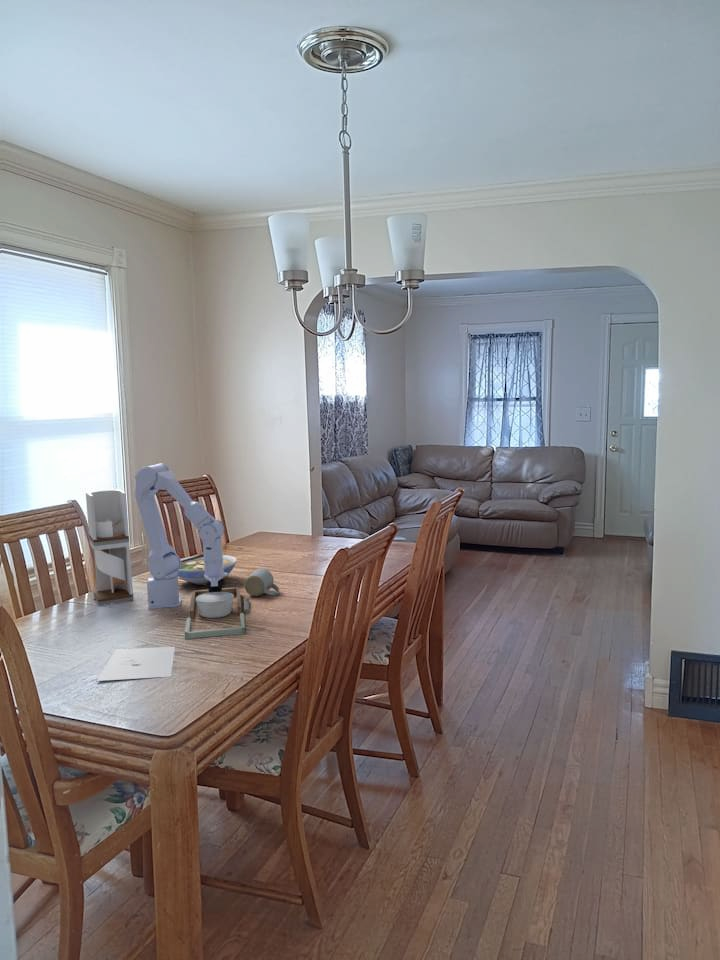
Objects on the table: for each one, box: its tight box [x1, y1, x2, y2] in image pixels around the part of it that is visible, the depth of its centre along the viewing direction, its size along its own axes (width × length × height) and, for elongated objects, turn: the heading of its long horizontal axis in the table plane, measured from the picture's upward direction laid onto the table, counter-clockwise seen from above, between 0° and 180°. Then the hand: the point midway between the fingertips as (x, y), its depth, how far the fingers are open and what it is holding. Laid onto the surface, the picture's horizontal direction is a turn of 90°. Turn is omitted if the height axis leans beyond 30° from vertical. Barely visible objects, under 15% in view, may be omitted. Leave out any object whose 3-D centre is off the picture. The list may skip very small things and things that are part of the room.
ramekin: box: [195, 592, 235, 619], centre depth 215 cm, size 11×11×5 cm
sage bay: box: [184, 612, 246, 640], centre depth 202 cm, size 16×14×2 cm
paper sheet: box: [96, 646, 176, 682], centre depth 177 cm, size 24×29×1 cm
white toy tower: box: [85, 488, 134, 606], centre depth 233 cm, size 11×11×35 cm
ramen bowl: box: [178, 553, 238, 586], centre depth 252 cm, size 25×23×8 cm
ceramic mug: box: [243, 568, 280, 597], centre depth 235 cm, size 11×8×8 cm
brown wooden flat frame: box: [188, 586, 243, 620], centre depth 223 cm, size 15×23×2 cm, turn 11°
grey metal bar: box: [243, 597, 250, 614], centre depth 221 cm, size 1×12×1 cm, turn 9°
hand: (216, 603), depth 223 cm, fingers closed
